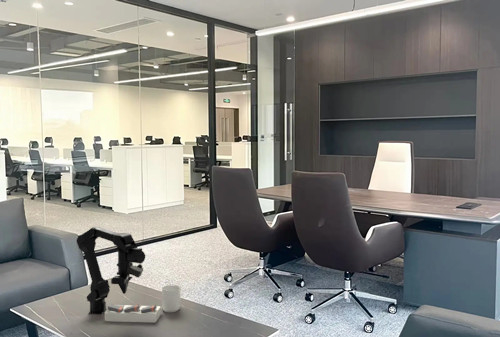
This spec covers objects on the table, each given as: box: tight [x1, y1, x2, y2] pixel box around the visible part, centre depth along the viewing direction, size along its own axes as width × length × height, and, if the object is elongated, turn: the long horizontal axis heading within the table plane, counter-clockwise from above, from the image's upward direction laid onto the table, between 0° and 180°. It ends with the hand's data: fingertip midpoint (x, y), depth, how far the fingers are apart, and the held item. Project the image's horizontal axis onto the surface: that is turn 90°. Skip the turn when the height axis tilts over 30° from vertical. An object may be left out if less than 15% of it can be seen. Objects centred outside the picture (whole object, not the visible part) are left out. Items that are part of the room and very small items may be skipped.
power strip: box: [104, 304, 162, 323], centre depth 204 cm, size 24×10×4 cm, turn 87°
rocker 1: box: [107, 303, 124, 312], centre depth 203 cm, size 6×3×2 cm, turn 87°
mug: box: [161, 284, 182, 313], centre depth 217 cm, size 12×9×11 cm
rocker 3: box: [141, 304, 157, 313], centre depth 202 cm, size 6×3×2 cm, turn 88°
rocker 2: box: [124, 304, 140, 313], centre depth 202 cm, size 6×3×2 cm, turn 88°
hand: (124, 293), depth 203 cm, fingers closed
